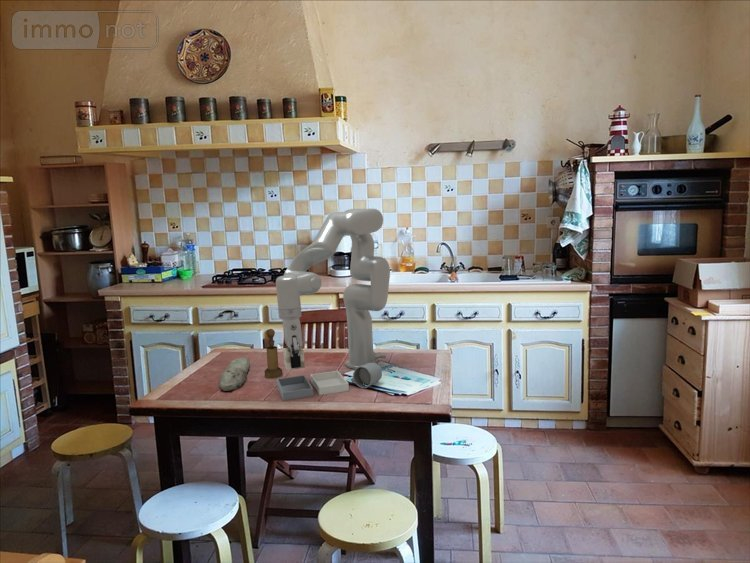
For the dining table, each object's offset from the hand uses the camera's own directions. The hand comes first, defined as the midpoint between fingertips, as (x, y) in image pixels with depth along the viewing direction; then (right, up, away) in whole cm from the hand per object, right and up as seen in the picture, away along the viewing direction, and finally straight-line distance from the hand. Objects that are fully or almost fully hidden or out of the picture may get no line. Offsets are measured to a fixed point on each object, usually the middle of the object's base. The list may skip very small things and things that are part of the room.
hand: (294, 364), depth 189 cm
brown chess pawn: (-10, -8, +19) cm, 23 cm away
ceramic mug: (+24, -8, +6) cm, 26 cm away
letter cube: (0, -1, 0) cm, 1 cm away
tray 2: (+11, -9, +5) cm, 15 cm away
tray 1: (0, -10, +1) cm, 10 cm away
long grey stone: (-25, -8, +21) cm, 33 cm away
